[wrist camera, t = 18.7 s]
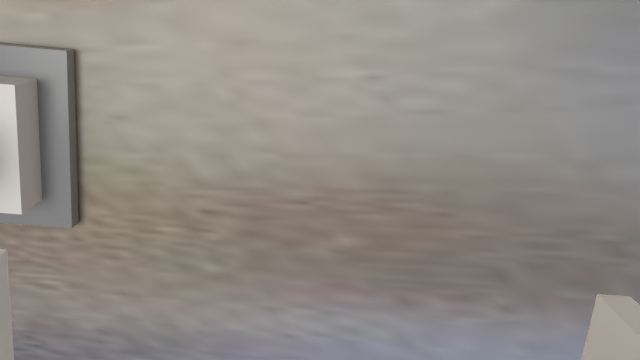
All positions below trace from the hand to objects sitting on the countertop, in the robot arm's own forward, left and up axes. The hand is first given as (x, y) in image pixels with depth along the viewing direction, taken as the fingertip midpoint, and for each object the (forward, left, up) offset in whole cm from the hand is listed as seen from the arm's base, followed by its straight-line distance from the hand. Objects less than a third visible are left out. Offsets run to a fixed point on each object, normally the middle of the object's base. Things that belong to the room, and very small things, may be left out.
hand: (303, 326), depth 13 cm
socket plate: (+25, +5, -35) cm, 43 cm away
